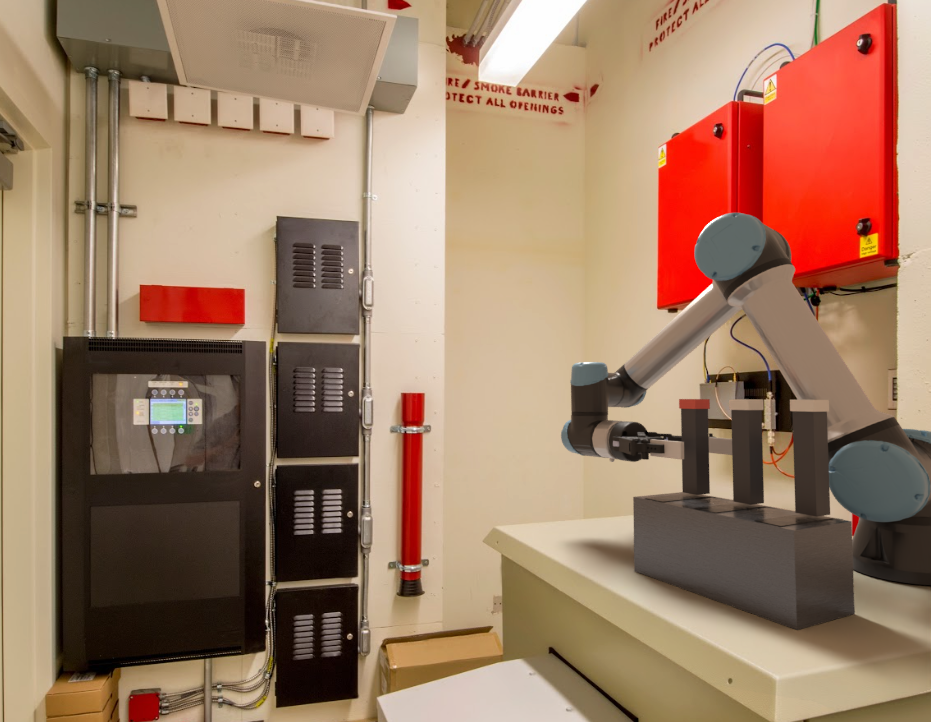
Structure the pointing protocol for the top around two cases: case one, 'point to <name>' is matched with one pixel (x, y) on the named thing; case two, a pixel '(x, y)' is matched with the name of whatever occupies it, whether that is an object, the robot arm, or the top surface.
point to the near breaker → (811, 457)
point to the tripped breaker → (695, 445)
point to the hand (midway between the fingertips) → (712, 449)
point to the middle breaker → (747, 450)
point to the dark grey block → (748, 556)
